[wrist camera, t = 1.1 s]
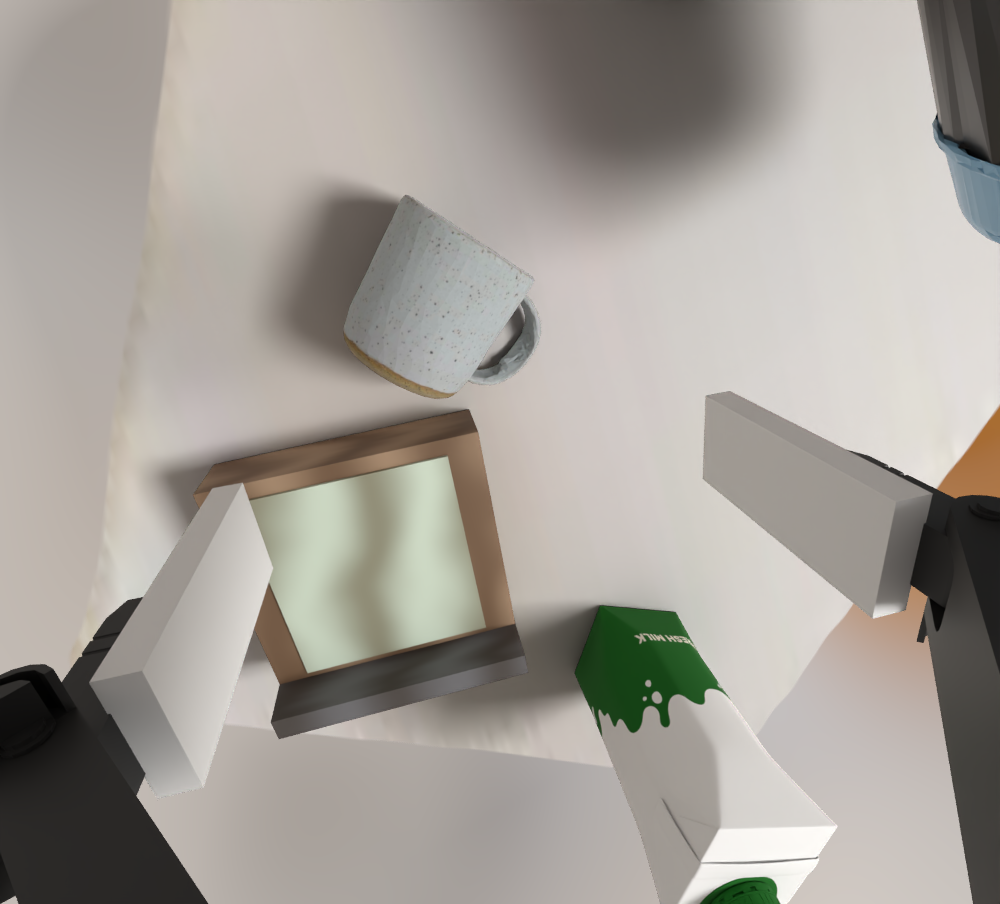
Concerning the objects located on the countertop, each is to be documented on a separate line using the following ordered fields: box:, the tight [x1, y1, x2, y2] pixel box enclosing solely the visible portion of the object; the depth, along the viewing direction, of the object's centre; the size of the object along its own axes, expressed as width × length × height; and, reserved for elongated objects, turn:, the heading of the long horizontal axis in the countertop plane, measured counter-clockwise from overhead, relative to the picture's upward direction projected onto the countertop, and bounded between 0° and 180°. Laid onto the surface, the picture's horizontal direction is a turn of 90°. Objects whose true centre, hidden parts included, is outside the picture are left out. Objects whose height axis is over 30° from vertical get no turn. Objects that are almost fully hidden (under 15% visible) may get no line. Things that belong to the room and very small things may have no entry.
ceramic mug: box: [343, 195, 541, 399], centre depth 29 cm, size 11×8×8 cm
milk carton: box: [575, 606, 837, 904], centre depth 37 cm, size 9×9×20 cm
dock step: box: [193, 410, 528, 739], centre depth 35 cm, size 16×16×7 cm
